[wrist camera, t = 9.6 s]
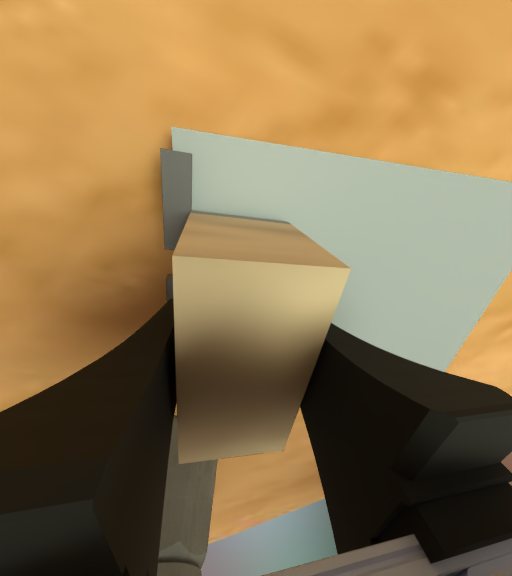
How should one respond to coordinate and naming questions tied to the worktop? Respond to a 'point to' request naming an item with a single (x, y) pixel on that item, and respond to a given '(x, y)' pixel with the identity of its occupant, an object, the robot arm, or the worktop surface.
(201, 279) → the block
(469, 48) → the worktop surface
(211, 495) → the coffeepot
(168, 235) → the pencil mark
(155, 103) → the worktop surface
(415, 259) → the board
